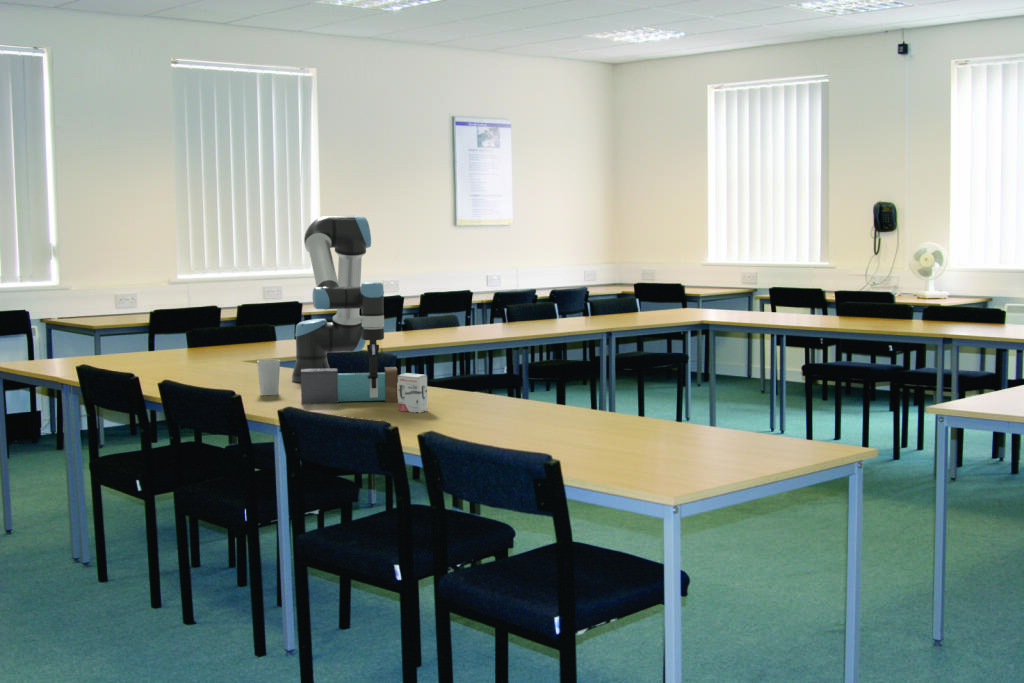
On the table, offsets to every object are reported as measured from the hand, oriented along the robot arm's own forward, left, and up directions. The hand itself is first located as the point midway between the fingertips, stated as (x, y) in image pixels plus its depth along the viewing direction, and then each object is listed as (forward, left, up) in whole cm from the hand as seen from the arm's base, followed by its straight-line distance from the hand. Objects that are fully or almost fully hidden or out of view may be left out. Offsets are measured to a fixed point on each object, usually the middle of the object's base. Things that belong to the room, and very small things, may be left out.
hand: (373, 396), depth 370 cm
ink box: (+22, +12, -2) cm, 25 cm away
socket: (0, +6, -2) cm, 6 cm away
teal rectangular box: (0, -4, -2) cm, 5 cm away
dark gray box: (0, -18, -2) cm, 18 cm away
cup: (-20, -36, -2) cm, 41 cm away
